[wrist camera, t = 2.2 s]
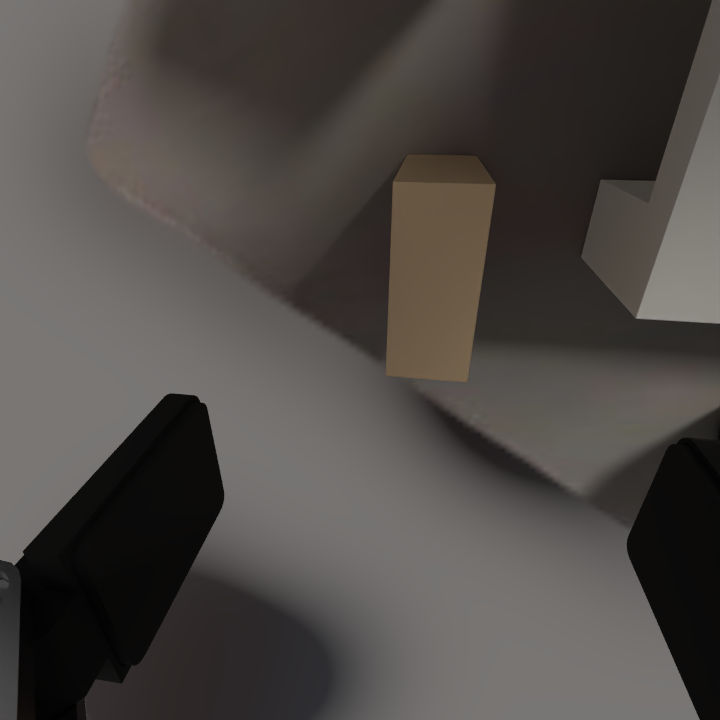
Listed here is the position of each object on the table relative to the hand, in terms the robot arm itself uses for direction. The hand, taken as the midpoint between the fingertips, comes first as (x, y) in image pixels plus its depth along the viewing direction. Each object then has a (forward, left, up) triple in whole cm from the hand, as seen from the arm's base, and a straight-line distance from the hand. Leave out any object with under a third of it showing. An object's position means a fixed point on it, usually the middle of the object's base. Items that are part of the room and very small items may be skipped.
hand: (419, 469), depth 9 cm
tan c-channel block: (0, 0, -19) cm, 19 cm away
